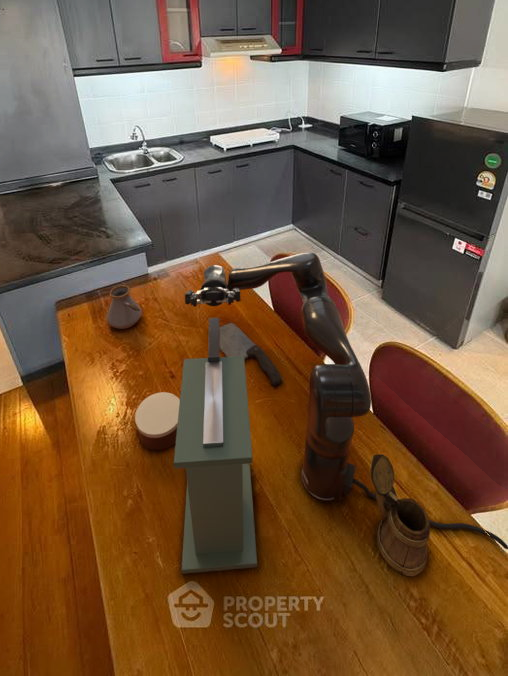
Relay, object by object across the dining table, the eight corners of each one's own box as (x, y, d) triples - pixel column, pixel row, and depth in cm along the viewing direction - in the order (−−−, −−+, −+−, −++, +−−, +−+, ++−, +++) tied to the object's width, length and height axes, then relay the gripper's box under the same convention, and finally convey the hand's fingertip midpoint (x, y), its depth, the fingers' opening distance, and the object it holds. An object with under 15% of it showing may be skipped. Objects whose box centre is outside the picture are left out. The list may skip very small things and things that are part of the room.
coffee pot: (102, 319, 132) (95, 284, 125) (134, 305, 138) (128, 271, 132) (127, 356, 117) (120, 319, 110) (161, 339, 123) (156, 302, 117)
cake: (192, 417, 98) (191, 401, 96) (167, 459, 89) (164, 442, 86) (156, 402, 103) (154, 386, 100) (128, 439, 93) (125, 423, 91)
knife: (207, 325, 84) (206, 318, 83) (221, 325, 84) (221, 317, 83) (203, 447, 59) (202, 438, 58) (223, 446, 60) (223, 437, 59)
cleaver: (288, 379, 109) (289, 374, 108) (262, 397, 104) (262, 391, 103) (230, 322, 130) (230, 317, 130) (206, 335, 125) (206, 330, 124)
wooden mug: (373, 491, 83) (386, 438, 75) (434, 549, 74) (456, 496, 66) (348, 522, 78) (360, 469, 70) (411, 589, 68) (432, 537, 61)
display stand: (189, 458, 89) (178, 359, 75) (248, 454, 90) (249, 355, 76) (182, 574, 70) (166, 470, 56) (257, 567, 71) (259, 463, 57)
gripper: (188, 278, 108) (182, 287, 92) (238, 275, 109) (240, 284, 93) (189, 304, 108) (183, 318, 92) (239, 301, 109) (241, 315, 93)
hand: (212, 301), depth 93 cm, fingers open, 8 cm apart
